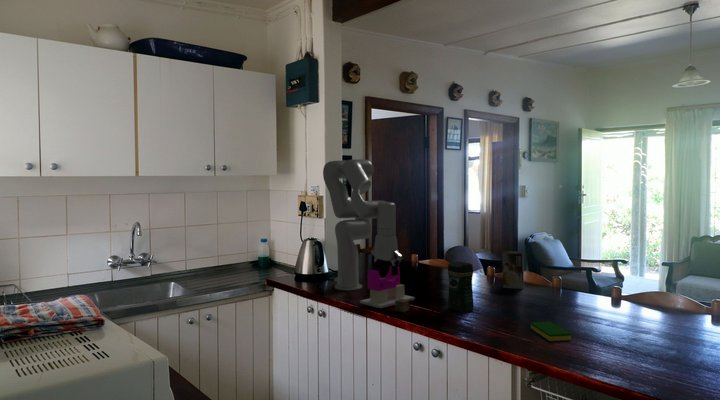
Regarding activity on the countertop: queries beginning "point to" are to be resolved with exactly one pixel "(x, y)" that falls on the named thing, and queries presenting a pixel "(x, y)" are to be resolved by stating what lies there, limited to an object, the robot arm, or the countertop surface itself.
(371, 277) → the toy block
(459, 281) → the coffee jar
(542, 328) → the dish sponge
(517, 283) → the coffee box
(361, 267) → the countertop surface
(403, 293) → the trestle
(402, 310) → the cube
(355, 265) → the robot arm
